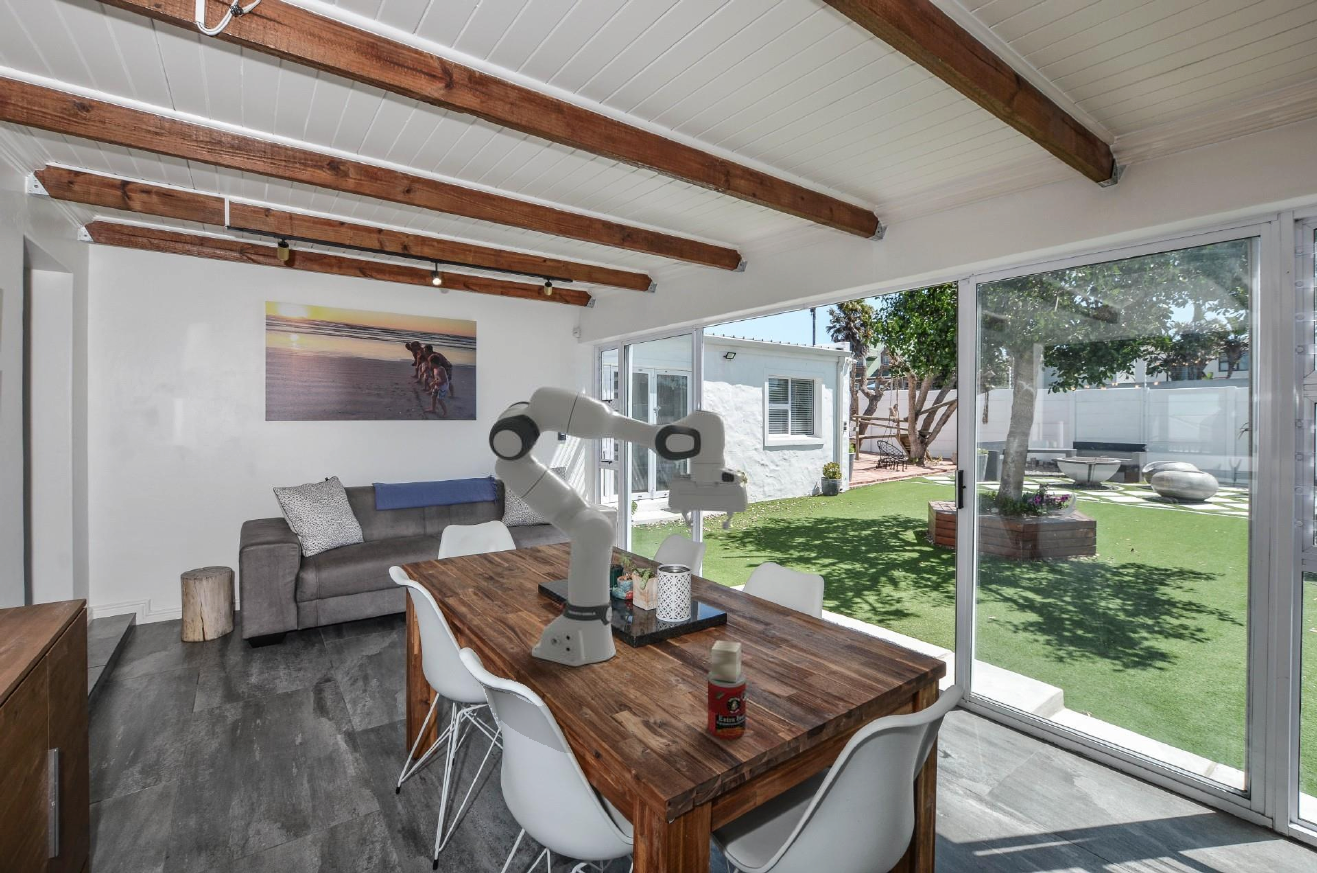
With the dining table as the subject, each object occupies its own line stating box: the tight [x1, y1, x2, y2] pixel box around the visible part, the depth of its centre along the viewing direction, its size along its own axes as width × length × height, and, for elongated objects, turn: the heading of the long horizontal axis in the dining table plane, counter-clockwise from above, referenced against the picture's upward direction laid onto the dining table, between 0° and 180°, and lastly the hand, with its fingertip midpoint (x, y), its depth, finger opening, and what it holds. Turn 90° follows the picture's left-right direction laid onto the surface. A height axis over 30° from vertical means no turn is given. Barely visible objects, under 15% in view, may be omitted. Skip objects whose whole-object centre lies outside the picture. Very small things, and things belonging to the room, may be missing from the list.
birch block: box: [710, 640, 742, 682], centre depth 120 cm, size 5×5×6 cm
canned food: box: [707, 670, 747, 740], centre depth 120 cm, size 8×8×11 cm
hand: (707, 528), depth 151 cm, fingers open, 8 cm apart
